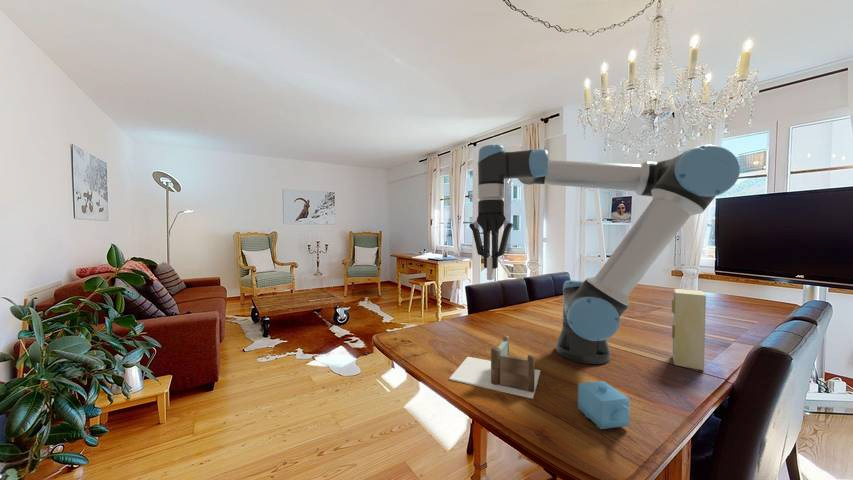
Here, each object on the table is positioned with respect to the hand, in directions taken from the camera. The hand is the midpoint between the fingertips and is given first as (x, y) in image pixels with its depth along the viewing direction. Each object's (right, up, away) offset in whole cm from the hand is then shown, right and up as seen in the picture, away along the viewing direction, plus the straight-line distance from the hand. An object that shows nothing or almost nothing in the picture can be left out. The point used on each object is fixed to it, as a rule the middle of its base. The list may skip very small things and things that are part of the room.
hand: (490, 279), depth 93 cm
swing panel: (+2, -24, -8) cm, 25 cm away
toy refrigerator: (+57, -24, -2) cm, 62 cm away
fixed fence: (+2, -25, -15) cm, 29 cm away
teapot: (+17, -26, -29) cm, 43 cm away
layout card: (0, -25, -9) cm, 27 cm away
